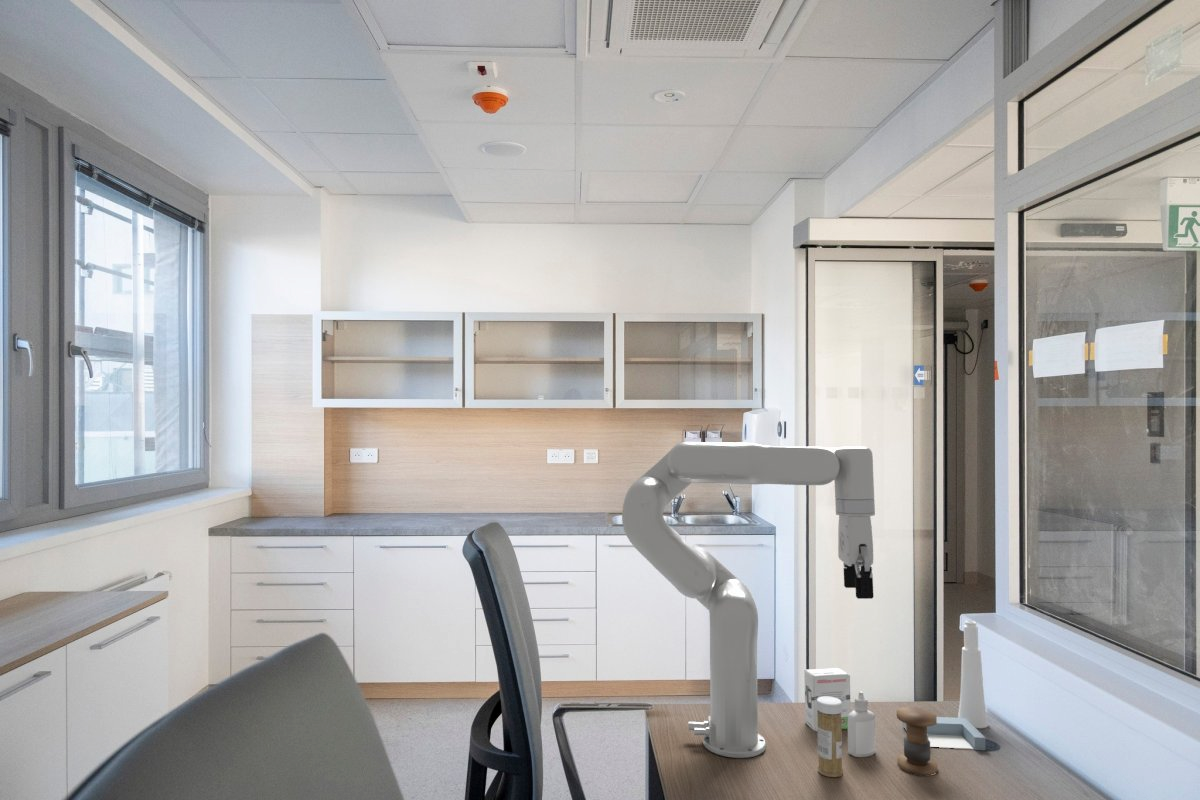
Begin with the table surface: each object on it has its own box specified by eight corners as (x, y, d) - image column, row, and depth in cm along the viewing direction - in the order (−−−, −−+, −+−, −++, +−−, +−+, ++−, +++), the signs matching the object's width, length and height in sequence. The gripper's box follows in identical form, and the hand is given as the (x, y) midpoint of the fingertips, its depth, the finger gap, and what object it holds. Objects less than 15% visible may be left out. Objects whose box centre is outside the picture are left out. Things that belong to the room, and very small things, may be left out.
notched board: (918, 747, 146) (917, 734, 146) (902, 727, 156) (902, 715, 156) (985, 750, 145) (985, 737, 145) (965, 729, 155) (965, 718, 155)
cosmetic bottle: (961, 727, 156) (959, 624, 157) (954, 716, 162) (952, 617, 163) (992, 729, 155) (989, 626, 156) (983, 718, 160) (981, 619, 161)
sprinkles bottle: (847, 776, 134) (846, 703, 134) (825, 779, 132) (824, 705, 133) (834, 765, 138) (833, 694, 139) (812, 768, 137) (811, 696, 138)
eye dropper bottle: (879, 759, 141) (878, 696, 141) (850, 757, 141) (849, 695, 142) (873, 749, 145) (872, 688, 146) (844, 747, 146) (843, 687, 146)
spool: (904, 774, 134) (903, 720, 135) (892, 758, 141) (892, 706, 142) (943, 776, 134) (942, 721, 134) (930, 759, 140) (929, 707, 141)
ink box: (840, 720, 160) (839, 666, 160) (851, 729, 155) (851, 673, 155) (804, 722, 158) (803, 668, 159) (814, 732, 154) (813, 675, 154)
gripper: (827, 503, 155) (830, 583, 154) (846, 512, 138) (849, 602, 137) (862, 503, 154) (866, 583, 154) (886, 511, 137) (890, 602, 136)
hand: (858, 592), depth 145 cm, fingers open, 9 cm apart
